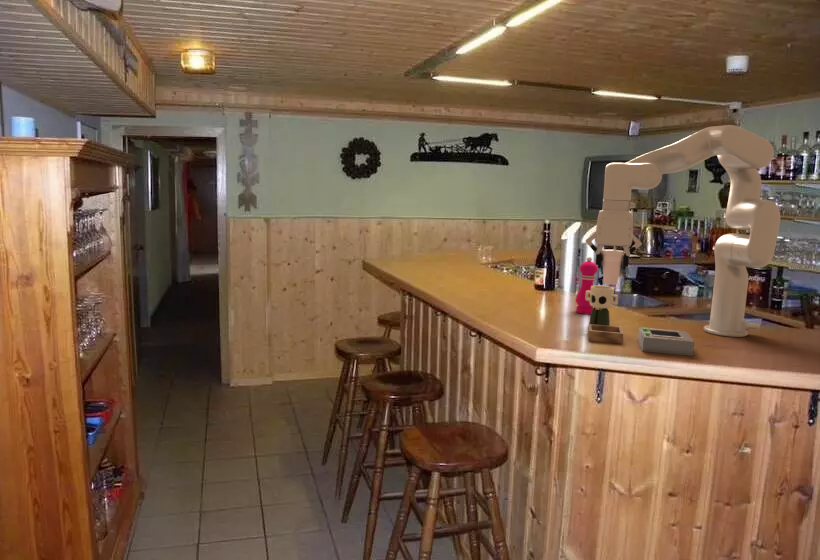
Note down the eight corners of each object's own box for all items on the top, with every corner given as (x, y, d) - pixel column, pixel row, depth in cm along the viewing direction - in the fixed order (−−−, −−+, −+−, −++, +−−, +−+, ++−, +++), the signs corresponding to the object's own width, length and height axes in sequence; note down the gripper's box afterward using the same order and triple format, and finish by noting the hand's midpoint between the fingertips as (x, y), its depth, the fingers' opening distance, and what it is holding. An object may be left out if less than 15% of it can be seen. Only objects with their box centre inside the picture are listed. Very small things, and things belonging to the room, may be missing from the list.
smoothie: (610, 285, 181) (614, 237, 179) (594, 282, 186) (597, 234, 184) (626, 284, 184) (630, 236, 182) (610, 281, 189) (614, 234, 187)
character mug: (578, 325, 204) (581, 286, 202) (587, 322, 209) (590, 283, 207) (611, 331, 197) (614, 290, 195) (619, 328, 202) (623, 288, 200)
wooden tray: (620, 336, 191) (620, 326, 191) (622, 343, 182) (623, 333, 182) (587, 333, 193) (588, 323, 193) (588, 340, 184) (589, 330, 184)
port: (684, 344, 184) (686, 329, 183) (692, 356, 171) (694, 339, 170) (637, 340, 187) (639, 325, 186) (642, 351, 174) (643, 335, 174)
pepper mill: (573, 313, 224) (577, 257, 221) (576, 309, 231) (580, 255, 228) (594, 315, 222) (599, 258, 219) (596, 311, 228) (601, 256, 225)
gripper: (646, 207, 183) (641, 268, 186) (584, 205, 187) (580, 265, 190) (649, 208, 176) (644, 271, 179) (585, 205, 180) (580, 268, 183)
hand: (611, 267), depth 184 cm, fingers closed on smoothie, 6 cm apart
